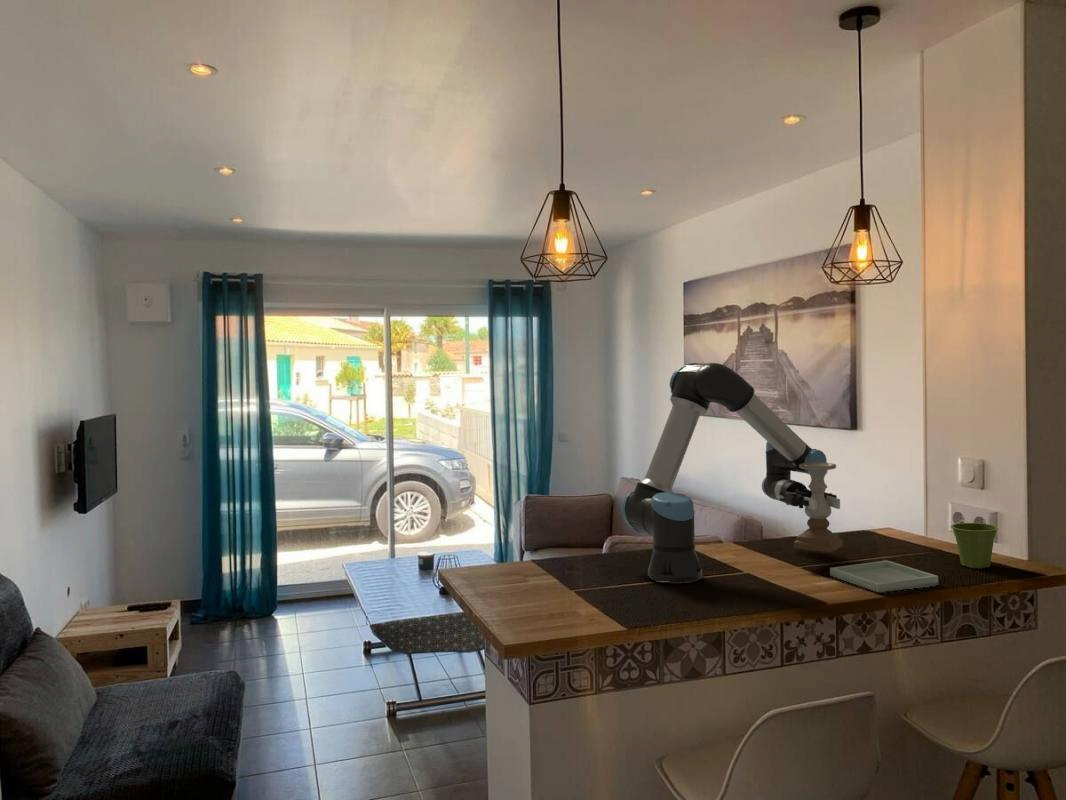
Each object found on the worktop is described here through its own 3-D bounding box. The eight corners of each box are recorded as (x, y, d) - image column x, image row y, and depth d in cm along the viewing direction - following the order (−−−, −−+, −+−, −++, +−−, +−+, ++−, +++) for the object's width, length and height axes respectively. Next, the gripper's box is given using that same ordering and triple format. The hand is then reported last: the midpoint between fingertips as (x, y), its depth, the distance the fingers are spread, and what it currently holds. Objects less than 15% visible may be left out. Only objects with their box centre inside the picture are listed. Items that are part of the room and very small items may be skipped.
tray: (877, 594, 211) (877, 584, 211) (830, 576, 229) (829, 567, 229) (938, 585, 217) (938, 576, 217) (887, 569, 235) (887, 560, 235)
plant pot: (987, 560, 240) (986, 521, 240) (1006, 570, 228) (1006, 530, 228) (944, 561, 241) (944, 522, 241) (961, 571, 229) (961, 531, 229)
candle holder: (831, 552, 232) (830, 467, 231) (792, 548, 238) (791, 465, 237) (843, 545, 240) (842, 463, 239) (806, 541, 247) (805, 461, 246)
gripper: (821, 503, 258) (859, 516, 235) (762, 506, 256) (794, 519, 233) (820, 479, 258) (859, 489, 235) (761, 481, 255) (794, 492, 232)
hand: (827, 504), depth 234 cm, fingers closed on candle holder, 6 cm apart
